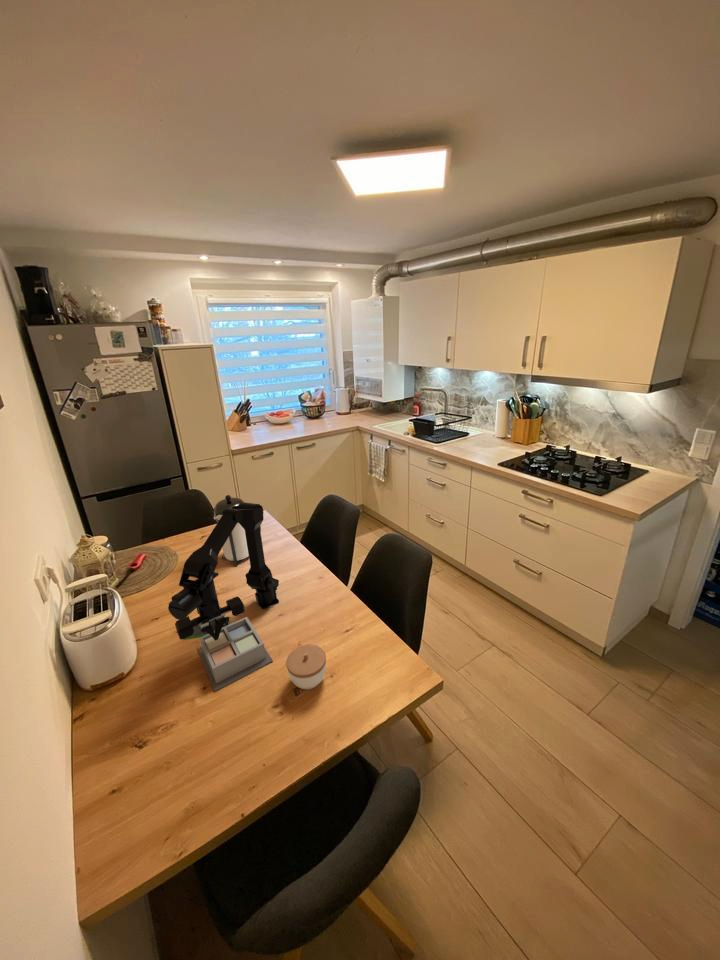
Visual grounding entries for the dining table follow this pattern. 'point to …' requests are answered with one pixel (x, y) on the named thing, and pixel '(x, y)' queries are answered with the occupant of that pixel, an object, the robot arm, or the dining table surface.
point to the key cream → (212, 643)
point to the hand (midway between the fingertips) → (216, 639)
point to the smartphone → (199, 634)
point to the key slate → (238, 631)
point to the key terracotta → (222, 655)
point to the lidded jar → (306, 666)
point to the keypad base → (240, 662)
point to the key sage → (246, 643)
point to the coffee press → (232, 533)
